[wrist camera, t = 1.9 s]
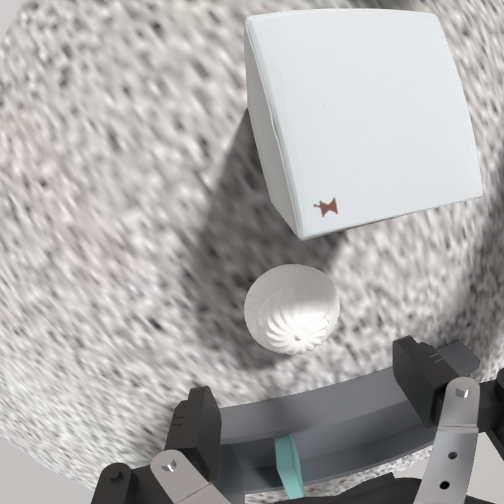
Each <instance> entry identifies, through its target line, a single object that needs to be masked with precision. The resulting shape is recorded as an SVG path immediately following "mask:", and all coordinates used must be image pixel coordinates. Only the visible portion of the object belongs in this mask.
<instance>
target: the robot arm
mask: <svg viewBox="0 0 504 504" xmlns="http://www.w3.org/2000/svg"><path fill="white" fill-rule="evenodd" d="M393 373H394V377H395V379H396V381H397V383H398V384H399V386H400V388H401V389H402V391H403V392H404V394H405V395H406V397H407V398H408V400H409V401H410V403H411V405H412V406H413V408H414V409H415V411H416V412H417V414H418V416H419V417H420V419H421V420H422V422H423V424H424V425H425V427H426V428H427V429H429V428H431V427H433V426H435V425H436V427H437V428H438V429H437V433H436V437H435V440H434V444H433V447H432V451H431V454H430V458H429V461H428V464H427V467H426V470H425V473H424V476H423V479H422V480H421V479H417V478H394V476H393V473H392V472H390V473H387V474H384V475H382V476H379V477H376V478H373V479H370V480H367V481H364V482H362V483H360V484H358V485H356V486H355V487H353V488H351V489H349V490H347V491H345V492H343V493H341V494H339V495H336V496H324V497H301V498H296V499H290V500H284V501H278V502H274V504H495V503H491V502H488V501H484V500H481V499H477V498H474V497H471V496H468V495H466V492H467V489H468V485H469V480H470V476H471V471H472V466H473V461H474V456H475V450H476V444H477V437H478V433H482V432H486V434H487V436H488V437H489V438H490V440H491V442H492V443H493V445H494V446H495V448H496V449H497V451H498V453H499V454H500V456H501V457H502V459H503V461H504V368H502V369H501V370H500V371H499V372H498V374H497V378H496V379H495V380H491V381H487V382H483V383H478V382H477V381H476V380H474V379H473V378H470V377H460V376H459V375H458V374H457V372H456V371H455V370H454V369H453V368H452V367H451V366H450V365H449V364H448V363H447V362H446V361H445V360H443V357H442V356H441V355H440V354H438V352H437V351H436V350H435V349H434V348H433V347H432V346H430V345H428V344H426V343H423V342H421V343H419V344H418V343H417V342H416V341H415V340H414V339H413V338H412V337H411V336H410V335H408V336H406V337H403V338H400V339H397V340H394V341H393ZM221 427H222V419H221V414H220V411H219V408H218V406H217V404H216V401H215V399H214V397H213V394H212V392H211V390H210V388H209V387H208V386H204V387H197V388H191V389H190V392H189V397H188V400H184V401H181V402H180V403H179V405H178V406H177V407H176V408H175V411H174V415H173V419H172V422H171V426H170V430H169V433H168V437H167V441H166V445H165V449H164V451H163V452H160V453H159V454H157V455H156V456H155V457H154V458H153V459H152V461H151V464H150V465H147V466H144V467H140V468H136V469H130V467H129V466H128V465H126V464H124V463H113V464H110V465H108V466H107V467H106V468H104V470H103V471H102V472H101V474H100V477H99V480H98V483H97V486H96V489H95V493H94V496H93V499H92V502H91V504H231V503H230V502H229V501H228V500H227V499H226V498H225V497H224V496H223V495H222V494H221V493H220V492H219V491H218V490H217V489H216V488H215V487H214V486H213V485H212V484H211V483H210V484H209V483H208V482H210V481H217V476H218V464H219V451H220V439H221Z"/></svg>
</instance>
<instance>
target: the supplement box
mask: <svg viewBox="0 0 504 504" xmlns="http://www.w3.org/2000/svg"><path fill="white" fill-rule="evenodd" d="M244 50H245V66H246V82H247V104H248V111H249V115H250V120H251V125H252V129H253V133H254V138H255V142H256V147H257V151H258V155H259V159H260V162H261V166H262V170H263V174H264V178H265V182H266V185H267V189H268V193H269V197H270V201H271V203H272V204H273V205H274V207H275V208H276V209H277V210H278V212H279V213H280V215H281V216H282V217H283V219H284V220H285V221H286V222H287V224H288V225H289V227H290V228H291V229H292V231H293V232H294V233H295V235H296V236H297V237H298V238H299V240H301V241H305V240H308V239H312V238H316V237H320V236H324V235H328V234H332V233H336V232H340V231H344V230H348V229H352V228H356V227H360V226H364V225H368V224H372V223H376V222H380V221H384V220H388V219H392V218H396V217H400V216H403V215H407V214H411V213H415V212H419V211H423V210H428V209H432V208H436V207H440V206H445V205H449V204H454V203H458V202H462V201H467V200H471V199H475V198H479V197H482V195H483V190H482V182H481V174H480V168H479V161H478V155H477V149H476V144H475V138H474V133H473V128H472V124H471V119H470V115H469V111H468V106H467V103H466V99H465V95H464V91H463V88H462V84H461V81H460V78H459V75H458V71H457V68H456V65H455V62H454V59H453V56H452V54H451V51H450V48H449V45H448V43H447V40H446V37H445V35H444V33H443V30H442V27H441V25H440V23H439V20H438V18H437V16H436V15H435V14H431V13H423V12H415V11H404V10H390V9H309V10H294V11H284V12H275V13H267V14H259V15H252V16H248V17H246V19H245V21H244Z"/></svg>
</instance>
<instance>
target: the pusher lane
mask: <svg viewBox="0 0 504 504" xmlns="http://www.w3.org/2000/svg"><path fill="white" fill-rule="evenodd" d="M436 351H437V352H438V354H440V355H441V356H442V357H443V360H445V361H446V362H447V363H448V364H449V365H450V366H451V367H452V368H453V369H454V370H455V371H456V372H457V374H458V375H459V376H460V377H465V374H466V373H468V372H470V371H472V370H474V369H476V368H478V367H479V364H480V360H479V359H478V358H477V357H476V356H475V355H474V354H473V353H472V352H471V351H470V350H469V349H468V348H467V347H466V346H465V345H464V344H463V343H462V342H460V341H459V340H457V341H455V342H453V343H450V344H448V345H446V346H443V347H441V348H439V349H436ZM219 411H220V414H221V419H222V427H221V439H220V451H219V464H218V476H217V481H210V482H208V483H209V484H210V483H211V484H212V485H213V486H214V487H215V488H216V489H217V490H218V491H219V492H220V493H221V494H222V495H223V496H224V497H225V498H226V499H227V500H228V501H229V502H230V503H231V504H245V494H254V493H263V492H270V491H277V490H283V489H285V487H284V485H283V483H282V480H281V478H280V475H279V473H278V470H277V463H276V450H275V437H277V436H282V435H287V434H292V436H293V440H294V443H295V447H296V450H297V453H298V457H299V460H300V467H301V474H302V480H303V486H305V485H310V484H315V483H319V482H324V481H328V480H332V479H336V478H340V477H343V476H347V475H351V474H354V473H358V472H361V471H364V470H367V469H370V468H374V467H377V466H380V465H382V464H385V463H388V462H391V461H394V460H396V459H399V458H402V457H404V456H407V455H409V454H412V453H414V452H417V451H419V450H421V449H424V448H426V447H428V446H431V445H433V444H434V440H435V437H436V433H437V429H438V428H437V427H436V425H435V426H433V427H431V428H429V429H427V428H426V427H425V425H424V424H423V422H422V420H421V419H420V417H419V416H418V414H417V412H416V411H415V409H414V408H413V406H412V405H411V403H410V401H409V400H408V398H407V397H406V395H405V394H404V392H403V391H402V389H401V388H400V386H399V384H398V383H397V381H396V379H395V377H394V373H393V366H392V367H389V368H386V369H383V370H380V371H377V372H374V373H371V374H368V375H365V376H362V377H358V378H355V379H352V380H348V381H345V382H341V383H338V384H334V385H331V386H327V387H323V388H319V389H315V390H311V391H307V392H303V393H299V394H294V395H290V396H286V397H281V398H276V399H271V400H266V401H261V402H255V403H250V404H244V405H238V406H232V407H225V408H219Z"/></svg>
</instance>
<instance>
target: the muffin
mask: <svg viewBox="0 0 504 504" xmlns="http://www.w3.org/2000/svg"><path fill="white" fill-rule="evenodd" d="M339 311H340V303H339V297H338V293H337V290H336V288H335V286H334V284H333V282H332V281H331V279H330V278H329V277H328V276H327V275H326V274H324V273H323V272H321V271H320V270H318V269H315V268H313V267H310V266H306V265H301V264H286V265H281V266H277V267H274V268H272V269H270V270H268V271H267V272H265V273H264V274H262V275H261V276H260V277H259V278H258V279H257V280H256V281H255V282H254V283H253V285H252V286H251V288H250V289H249V291H248V293H247V296H246V299H245V305H244V315H245V321H246V324H247V327H248V330H249V332H250V334H251V335H252V337H253V338H254V339H255V340H256V341H257V342H258V343H259V344H260V345H262V346H263V347H265V348H267V349H269V350H271V351H274V352H278V353H284V354H288V355H294V354H296V353H297V354H299V355H303V354H304V353H305V352H306V350H308V351H313V349H314V347H316V346H318V345H320V344H321V343H322V342H323V341H324V340H325V339H326V338H327V337H328V336H329V335H330V334H331V332H332V331H333V329H334V327H335V325H336V323H337V320H338V317H339Z"/></svg>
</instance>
